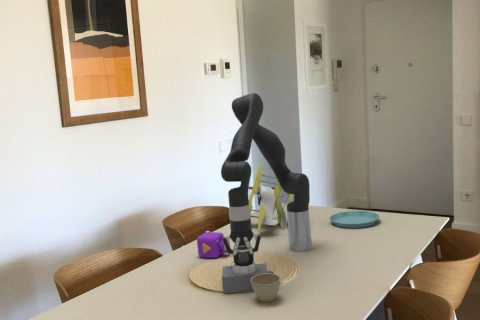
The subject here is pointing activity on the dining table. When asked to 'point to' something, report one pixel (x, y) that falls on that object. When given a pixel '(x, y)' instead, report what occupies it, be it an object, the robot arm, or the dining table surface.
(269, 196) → the biplane
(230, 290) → the camera body
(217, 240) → the toy camera
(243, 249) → the lens
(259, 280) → the flower pot
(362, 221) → the saucer
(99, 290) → the dining table surface
